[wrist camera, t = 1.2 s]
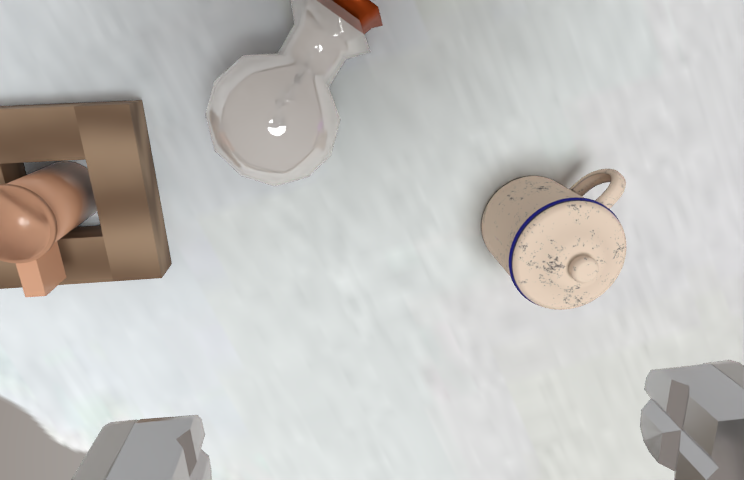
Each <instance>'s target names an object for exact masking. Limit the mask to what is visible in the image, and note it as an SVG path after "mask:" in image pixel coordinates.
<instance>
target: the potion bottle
mask: <svg viewBox="0 0 744 480" xmlns="http://www.w3.org/2000/svg"><path fill="white" fill-rule="evenodd" d="M291 6H292V12H293V18H294V26H293V27H292V29H291V31H290V33H289V34H288V36H287V38H286V39H285V41H284V43H283V45H282V46H281V48H280V50H279V51H278V53H268V54H255V55H243V56H242V57H240V58H239V59H238V60H237V61H236V62H235V63H234V64H233V65H231V66H230V67H229V68H228V69H227V70H226V71H225V72H224V73H223V74H221V75H220V76H219V77H218V78H217V79H216V80H215V81H214V83H213V87H212V91H211V94H210V98H209V102H208V106H207V110H206V118H207V122H208V126H209V130H210V134H211V138H212V142H213V146H214V150H215V152H216V153H217V154H218V155H219V156H220V157H222V158H223V159H224V160H225V161H226V162H227V163H228V164H229V165H230V166H231V167H232V168H233V169H234V170H235V171H236V172H237V173H238V174H239V175H240V176H242V177H246V178H249V179H252V180H255V181H259V182H262V183H265V184H268V185H272V186H278V185H282V184H285V183H289V182H293V181H296V180H300V179H303V178H307V177H309V176H310V175H311V174H312V173H313V172H314V171H315V170H317V169H318V168H319V167H320V166H321V165H322V164H323V163H324V162H325V161H326V160H327V159H328V158H329V157H330V156H331V154H332V151H333V147H334V143H335V139H336V135H337V131H338V128H339V124H340V120H341V119H340V116H339V114H338V111H337V108H336V105H335V102H334V100H333V97H332V94H331V91H330V88H329V87H330V85H331V83H332V82H333V80H334V78H335V77H336V75H337V74H338V72H339V70H340V69H341V67H342V65H343V64H344V62H345V60H347V59H350V58H353V57H357V56H360V55H363V54H366V53H370V52H371V51H370V48H369V45H368V42H367V39H366V36H365V33H366V32H368V31H369V30H370V29H371V28H374V27H378V26H382V21H381V17H380V13H379V9H378V6H376V5H375V4H374V3H372V2H371V1H370V0H291Z"/></svg>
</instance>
